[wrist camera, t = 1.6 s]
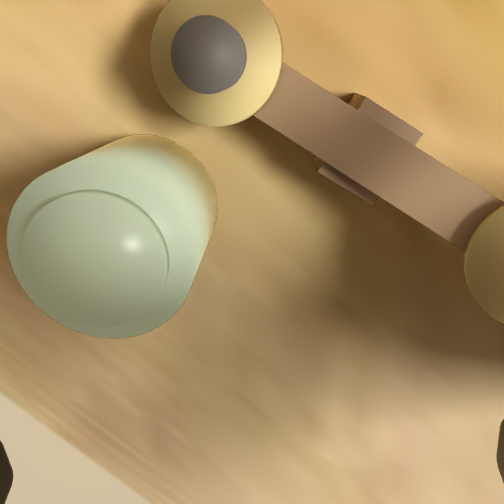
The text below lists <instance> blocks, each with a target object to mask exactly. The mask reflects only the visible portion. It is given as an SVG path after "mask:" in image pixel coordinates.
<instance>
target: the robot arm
mask: <svg viewBox="0 0 504 504" xmlns="http://www.w3.org/2000/svg"><path fill="white" fill-rule="evenodd" d="M497 464H498V468H499V471H500V474H501V477H502V480H503V482H504V420H503V421H502V422H501V425H500V431H499V439H498V447H497ZM12 481H13V470H12V467H11V465H10V462H9V459H8V457H7V454H6V451H5V449H4V446H3V444H2V442H1V441H0V504H5V501H6V499H7V496H8V493H9V491H10V488H11V485H12Z"/></svg>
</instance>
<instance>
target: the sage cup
mask: <svg viewBox="0 0 504 504" xmlns="http://www.w3.org/2000/svg"><path fill="white" fill-rule="evenodd" d="M217 209H218V208H217V197H216V191H215V188H214V185H213V182H212V180H211V178H210V176H209V174H208V172H207V171H206V169H205V167H204V166H203V165H202V164H201V162H200V161H199V160H198V159H197V158H196V157H195V156H194V155H193V154H192V153H191V152H190V151H188V150H187V149H186V148H184V147H183V146H181V145H179V144H178V143H176V142H174V141H171V140H169V139H166V138H163V137H159V136H155V135H147V134H146V135H131V136H126V137H123V138H120V139H117V140H115V141H113V142H111V143H109V144H106V145H104V146H102V147H100V148H98V149H96V150H94V151H91V152H89V153H87V154H85V155H83V156H81V157H78V158H76V159H74V160H72V161H70V162H68V163H65V164H63V165H61V166H59V167H57V168H55V169H53V170H50V171H48V172H46V173H44V174H42V175H41V176H39V177H38V178H36V179H35V180H34V181H33V182H32V183H30V184H29V185H28V186H27V187H26V188H25V189H24V191H23V192H22V193H21V194H20V196H19V197H18V199H17V201H16V202H15V204H14V206H13V208H12V211H11V214H10V217H9V221H8V226H7V251H8V256H9V260H10V264H11V266H12V269H13V272H14V274H15V276H16V278H17V280H18V282H19V284H20V286H21V287H22V289H23V290H24V292H25V293H26V294H27V296H28V297H29V298H30V299H31V300H32V302H33V303H34V304H35V305H36V306H37V307H38V308H39V309H40V310H42V311H43V312H44V313H45V314H46V315H48V316H49V317H50V318H52V319H53V320H55V321H56V322H58V323H60V324H61V325H63V326H65V327H67V328H69V329H71V330H74V331H76V332H79V333H82V334H85V335H89V336H94V337H100V338H113V339H119V338H129V337H133V336H138V335H141V334H144V333H147V332H150V331H152V330H154V329H155V328H157V327H159V326H161V325H162V324H164V323H165V322H166V321H168V320H169V319H170V318H171V317H172V316H173V315H174V314H175V313H176V312H177V311H178V309H179V308H180V307H181V306H182V304H183V302H184V301H185V299H186V297H187V295H188V293H189V290H190V288H191V285H192V283H193V280H194V278H195V275H196V273H197V270H198V267H199V265H200V262H201V260H202V257H203V255H204V252H205V250H206V247H207V245H208V242H209V240H210V237H211V234H212V232H213V229H214V227H215V223H216V219H217Z"/></svg>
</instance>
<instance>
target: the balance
mask: <svg viewBox="0 0 504 504" xmlns="http://www.w3.org/2000/svg"><path fill="white" fill-rule="evenodd" d="M150 63H151V69H152V74H153V77H154V80H155V83H156V85H157V88H158V90H159V92H160V93H161V95H162V97H163V98H164V100H165V101H166V102H167V103H168V105H169V106H170V107H171V108H172V109H173V110H174V111H175V112H177V113H178V114H179V115H181V116H182V117H184V118H185V119H187V120H189V121H191V122H194V123H196V124H200V125H204V126H213V127H215V126H229V125H234V124H237V123H240V122H242V121H244V120H246V119H248V118H250V117H251V116H255V117H256V118H258V119H260V120H261V121H263V122H264V123H266V124H267V125H269V126H270V127H272V128H274V129H275V130H277V131H278V132H280V133H281V134H283V135H284V136H286V137H288V138H289V139H291V140H292V141H294V142H295V143H297V144H298V145H300V146H302V147H303V148H305V149H306V150H308V151H309V152H311V153H312V154H314V155H315V157H314V158H313V161H314V163H315V166H316V169H317V172H318V173H320V174H322V175H323V176H325V177H327V178H328V179H330V180H332V181H333V182H335V183H337V184H338V185H340V186H342V187H343V188H345V189H347V190H348V191H350V192H352V193H353V194H355V195H357V196H358V197H360V198H362V199H363V200H365V201H366V202H368V203H370V204H371V205H373V203H374V202H375V200H376V199H377V198H378V196H379V197H381V198H382V199H384V200H385V201H387V202H389V203H390V204H392V205H393V206H395V207H396V208H398V209H399V210H401V211H403V212H404V213H406V214H407V215H409V216H410V217H412V218H413V219H415V220H417V221H418V222H420V223H421V224H423V225H424V226H426V227H427V228H429V229H431V230H432V231H434V232H435V233H437V234H438V235H440V236H441V237H443V238H445V239H446V240H448V241H449V242H451V243H452V244H454V245H455V246H457V247H459V248H460V249H462V250H463V251H465V256H464V274H465V279H466V282H467V285H468V288H469V290H470V291H471V293H472V295H473V297H474V298H475V300H476V302H477V303H478V304H479V305H480V307H481V308H482V309H483V310H484V311H485V312H486V313H487V314H488V315H490V316H491V317H492V318H494V319H495V320H497V321H498V322H500V323H502V324H504V202H502V201H501V200H499V199H497V198H496V197H494V196H493V195H491V194H489V193H488V192H486V191H485V190H483V189H482V188H480V187H478V186H477V185H475V184H474V183H472V182H471V181H469V180H467V179H466V178H464V177H463V176H461V175H459V174H458V173H456V172H455V171H453V170H452V169H450V168H448V167H447V166H445V165H444V164H442V163H441V162H439V161H437V160H436V159H434V158H433V157H431V156H429V155H428V154H426V153H425V152H423V151H422V150H420V149H418V148H417V147H415V145H416V143H417V142H418V140H419V139H420V138H421V136H422V135H423V133H421V132H420V131H418V130H417V129H415V128H414V127H412V126H411V125H409V124H407V123H406V122H404V121H403V120H401V119H400V118H398V117H397V116H395V115H393V114H392V113H390V112H389V111H387V110H386V109H384V108H383V107H381V106H379V105H378V104H376V103H375V102H373V101H372V100H370V99H369V98H367V97H365V96H362V95H359V94H357V93H355V94H354V95H353V97H352V98H351V100H350V102H349V103H348V104H347V103H346V102H344V101H343V100H341V99H340V98H338V97H336V96H335V95H333V94H332V93H330V92H328V91H327V90H325V89H324V88H322V87H321V86H319V85H317V84H316V83H314V82H313V81H311V80H310V79H308V78H306V77H305V76H303V75H302V74H300V73H298V72H297V71H295V70H294V69H292V68H291V67H289V66H287V65H286V64H284V63H283V45H282V38H281V34H280V31H279V28H278V25H277V23H276V21H275V19H274V17H273V15H272V13H271V12H270V10H269V9H268V8H267V6H266V5H265V4H264V3H263V2H262V0H170V1H169V2H168V3H167V4H166V5H165V7H164V8H163V10H162V11H161V13H160V15H159V17H158V19H157V21H156V24H155V26H154V29H153V33H152V37H151V44H150Z"/></svg>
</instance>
